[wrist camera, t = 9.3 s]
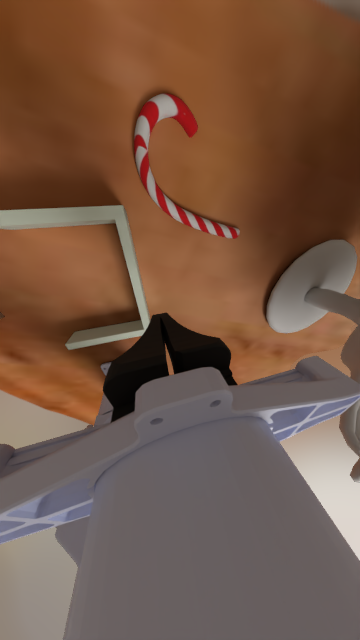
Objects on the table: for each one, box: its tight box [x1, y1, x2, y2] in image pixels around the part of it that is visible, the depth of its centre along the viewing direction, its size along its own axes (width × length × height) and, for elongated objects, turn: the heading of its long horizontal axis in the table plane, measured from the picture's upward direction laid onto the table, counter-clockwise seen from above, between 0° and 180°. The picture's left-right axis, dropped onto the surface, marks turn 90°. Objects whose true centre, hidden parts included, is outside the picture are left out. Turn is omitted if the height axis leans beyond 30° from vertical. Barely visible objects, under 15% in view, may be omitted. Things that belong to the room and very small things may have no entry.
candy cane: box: [134, 94, 240, 239], centre depth 15 cm, size 8×1×15 cm
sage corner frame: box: [0, 205, 151, 350], centre depth 17 cm, size 15×12×3 cm
